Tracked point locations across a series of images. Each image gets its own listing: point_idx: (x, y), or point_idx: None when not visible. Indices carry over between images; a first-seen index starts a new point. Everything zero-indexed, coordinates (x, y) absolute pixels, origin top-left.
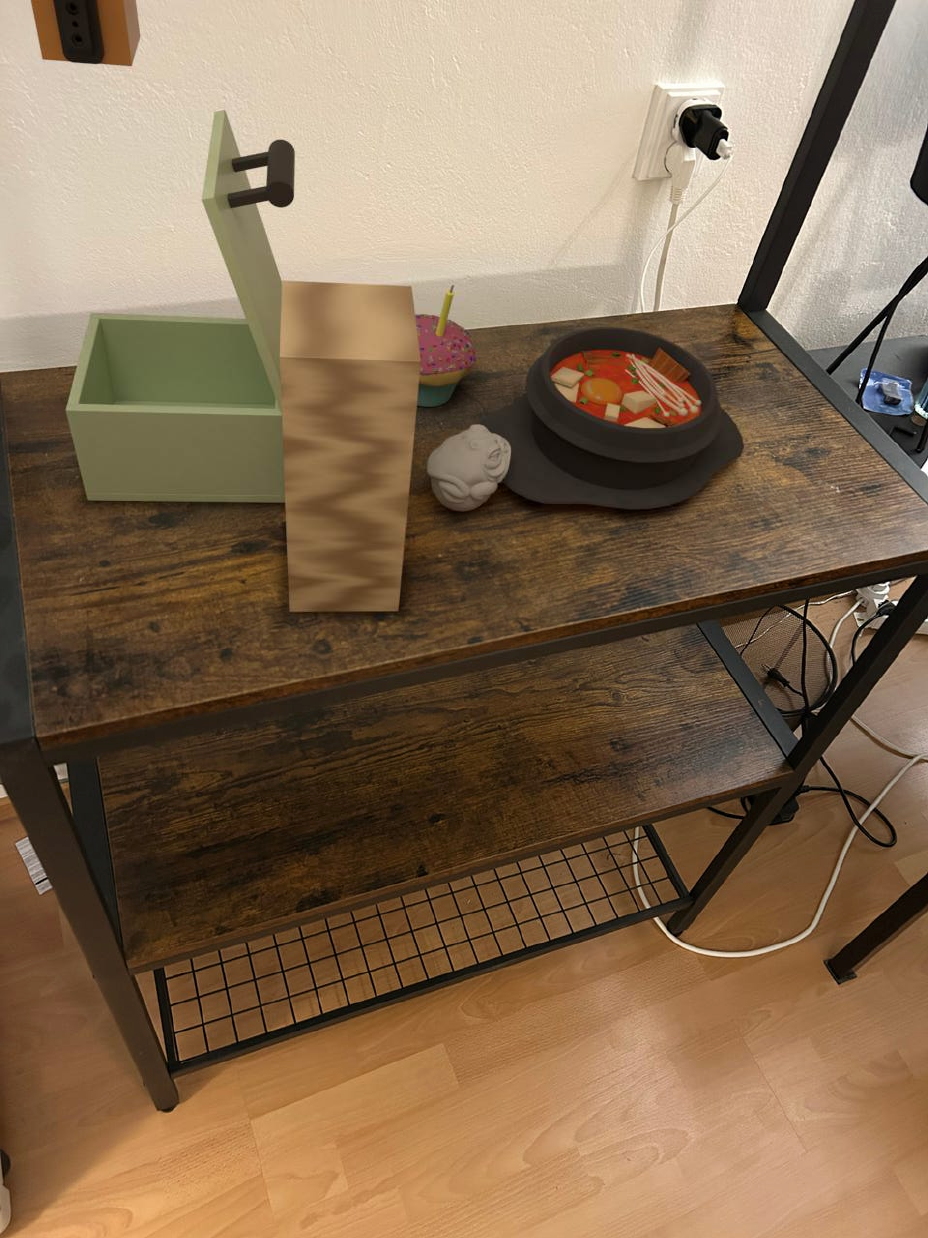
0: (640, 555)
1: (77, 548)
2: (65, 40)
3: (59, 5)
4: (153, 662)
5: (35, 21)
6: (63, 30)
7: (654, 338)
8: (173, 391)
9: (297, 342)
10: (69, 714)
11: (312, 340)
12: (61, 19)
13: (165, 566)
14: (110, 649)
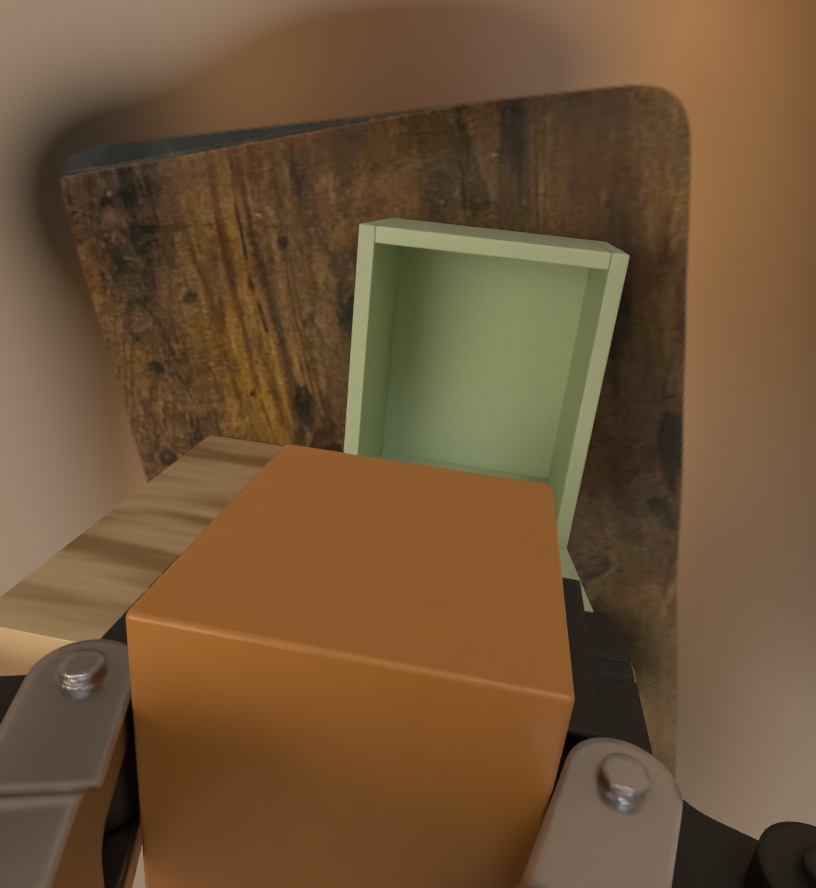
0: None
1: (308, 207)
2: (170, 565)
3: (109, 632)
4: (144, 295)
5: (239, 492)
6: (153, 582)
7: None
8: (576, 344)
9: (4, 647)
10: (79, 210)
11: (13, 665)
12: (135, 602)
13: (276, 312)
14: (159, 250)
